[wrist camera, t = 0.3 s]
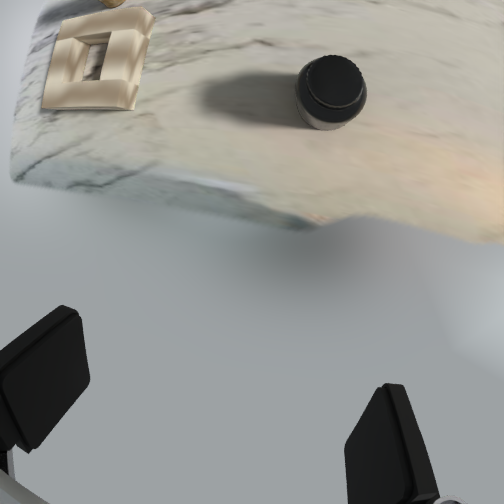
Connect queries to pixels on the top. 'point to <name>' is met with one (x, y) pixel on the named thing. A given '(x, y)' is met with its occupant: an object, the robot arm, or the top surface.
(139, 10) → the socket block
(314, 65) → the supplement bottle
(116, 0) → the sprinkles bottle
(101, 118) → the top surface
